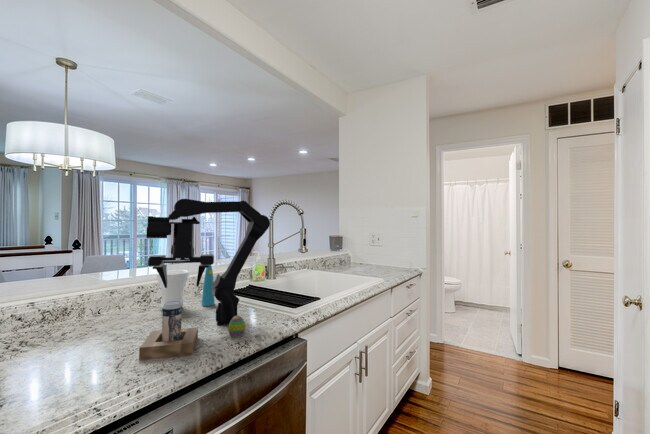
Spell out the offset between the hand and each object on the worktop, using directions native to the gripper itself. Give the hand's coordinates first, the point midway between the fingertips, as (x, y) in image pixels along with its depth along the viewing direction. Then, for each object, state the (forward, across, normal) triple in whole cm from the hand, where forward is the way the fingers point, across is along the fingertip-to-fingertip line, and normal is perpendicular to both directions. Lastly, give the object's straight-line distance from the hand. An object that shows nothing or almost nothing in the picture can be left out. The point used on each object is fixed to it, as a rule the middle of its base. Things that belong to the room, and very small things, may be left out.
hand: (182, 287), depth 98 cm
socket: (+13, 0, +16) cm, 21 cm away
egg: (+13, -17, +11) cm, 24 cm away
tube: (+13, -6, -27) cm, 31 cm away
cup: (+13, +7, -24) cm, 28 cm away
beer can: (+13, 0, +16) cm, 21 cm away
